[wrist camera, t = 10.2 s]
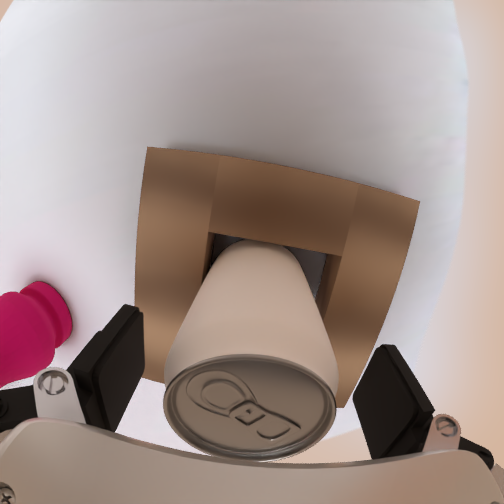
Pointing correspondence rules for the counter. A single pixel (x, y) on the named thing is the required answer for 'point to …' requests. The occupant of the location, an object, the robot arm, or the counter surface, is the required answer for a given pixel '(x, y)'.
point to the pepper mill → (31, 330)
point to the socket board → (272, 231)
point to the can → (252, 360)
